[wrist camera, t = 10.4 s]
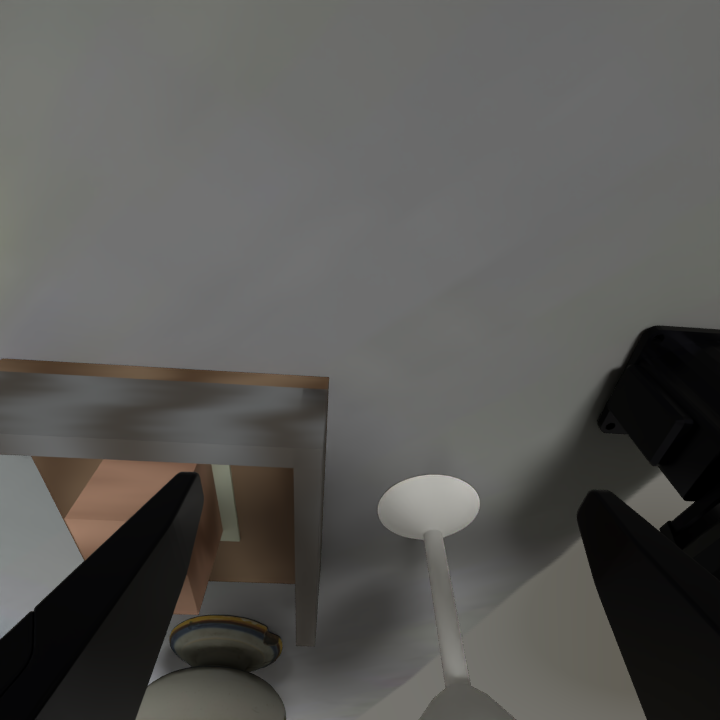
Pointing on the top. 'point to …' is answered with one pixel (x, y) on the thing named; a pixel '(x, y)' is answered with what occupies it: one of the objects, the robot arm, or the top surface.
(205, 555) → the block
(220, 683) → the apothecary jar
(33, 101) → the top surface
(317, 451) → the brown rimmed piece
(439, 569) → the champagne flute
